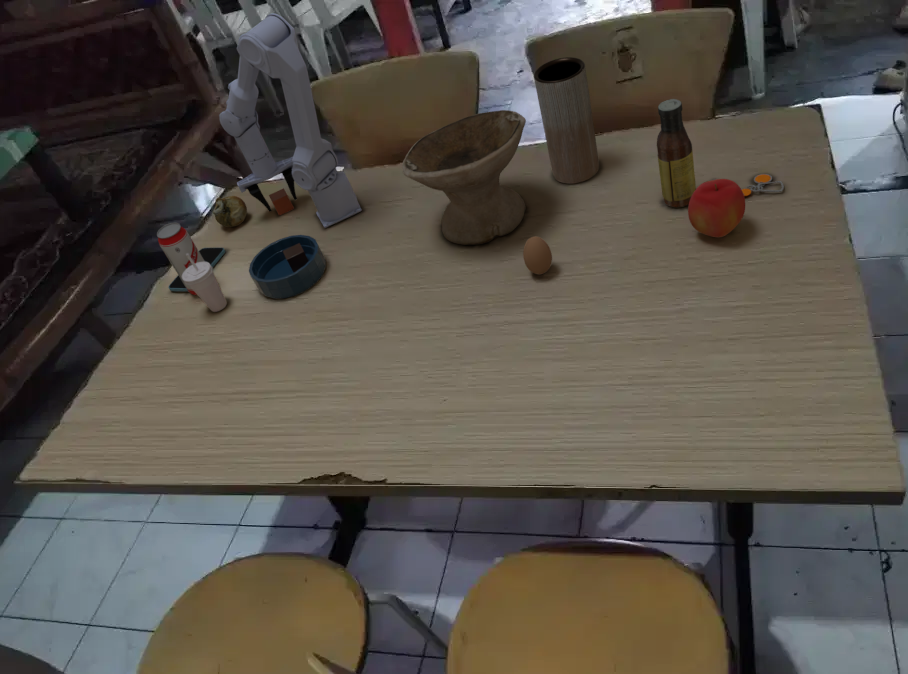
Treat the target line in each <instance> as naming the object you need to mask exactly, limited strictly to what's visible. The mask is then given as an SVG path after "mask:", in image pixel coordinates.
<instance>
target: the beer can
mask: <svg viewBox="0 0 908 674" xmlns="http://www.w3.org/2000/svg"><path fill="white" fill-rule="evenodd" d="M156 236H157V241H158V245H159V248H161V250H162V252H163V253H164V255H165V256H166V258H167V259H168V261H169V263H170V264H171V266H172V268H173V269H174V271H175V272H176V274H177V276H178V275H179V277H180V279H181V280H182V282H183V283H184V281H183V279H182V274H183V272H184V271H185V270H186V269H187V268H188V267H190V266H191V265H192V263H191V262H190V260H189V259H188V257H187V256H186V254H187V253H188V254H189V255H190V257H191V258H192V260H193V261H194V263H198V262H205V261H204V259H203V258H202V256H201V254H200V253H199V249H198V248H197V245H196V244H195V242H194V241H193V239H192V237H191V235H190V234H189V232H188V231H187V229H186V228H185V227H183V226H181V224H180V223H178V222H169V223H167V224H165V225H163V226H161V227H160V228H159V229H158V230H157V232H156ZM184 285H185V287H186V288H187V290H188V291H187V292H188V293H189V294H190V295H193V296H197V297H199V296H198V295H197V294H196V293H195V292H194V291H193V289H192V288H191V287H190V286H189V285H187V284H185V283H184Z"/></svg>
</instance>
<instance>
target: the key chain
mask: <svg viewBox="0 0 908 674" xmlns="http://www.w3.org/2000/svg"><path fill="white" fill-rule="evenodd" d="M716 179H717V178H713V179H712V180H716ZM772 180H773V176H772V175H771V174H769V173H760V174H757V175H755V176H754V177H753V182H754V183H755V184H756V185H754V184H749V185H747V186H746V187H745V188H741V190H742V192H743V195H744V197H748V196H750V195H751V194H752V193H755V192H756V193H757V192H764V193H765V192H766V193H781V192H783V191H784V189H785V186H784V183H783V181H781V180H776V181H772ZM774 183H776V184H780V186H781V187H780V189H764V186H766V185H769V184H774Z"/></svg>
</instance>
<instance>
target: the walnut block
mask: <svg viewBox="0 0 908 674" xmlns="http://www.w3.org/2000/svg"><path fill="white" fill-rule="evenodd" d="M283 253H284V255H285V257H286V260H287V261H288V263H289V265H290V267H291V269H292V271H293V273H294V272H296V271H297V270H299V269H300V268H302V267H303V266H304V265H305V264H306V263H307V262H308V261H309V260H308V258H307V257H306V255H305V253H304V251H303V249H302V247H301V245H300V243H298V244H296V245H294V246H292V247H290V248H288V249H286V250H284V251H283Z"/></svg>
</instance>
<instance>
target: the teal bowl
mask: <svg viewBox="0 0 908 674" xmlns="http://www.w3.org/2000/svg"><path fill="white" fill-rule="evenodd" d="M298 243H300V245H301V247H302V249H303V251H304V253H305V255H306V257H307V258H308V260H309V261H308V262H307V263H306V264H305V265H304V266H303V267H302V268H300V269H299V270H297V271H296V272H294V273H293V271H292V269H291V267H290V265H289V263H288V261H287V260H286V257H285V255H284V253H283V251H284V250H286V249H288V248H290V247H292V246H294V245H296V244H298ZM326 265H327V259H326V257H325V256H324V254H323V251H322V250H321V247H320V246H319V244H318V242H317V240H316V239H315V238H314V237H312V236H310V235H305V234H295V235H288V236H285V237H282V238H279V239H277V240H275V241H273V242H271V243H269V244H268V245H266V246H265V247H263V248H262V249H260V250H259V251H258V253H257V254H256V255H255V256H254V257H253V258H252V260H251V262H250V263H249V268H248V273H249V276H250V278H251V279H252V281H253V283H254V284H255V286H256V287H257V289H258V292H259V293H260V294H262V295H263V296H265V297H267V298H271V299H277V300H281V299H288V298H292V297H294V296H298V295H300V294H302V293H304V292H306V291H308V290H309V289H311V288H312V287H313V286H314V285H316V284H317V283H318V282H319V280H320V279H322V277H323V275H324V273H325V270H326V267H327V266H326Z"/></svg>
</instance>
